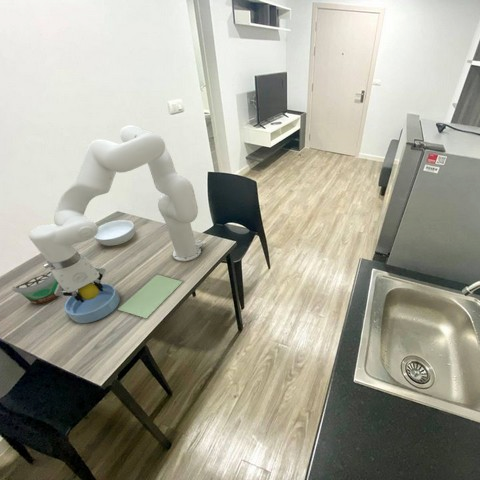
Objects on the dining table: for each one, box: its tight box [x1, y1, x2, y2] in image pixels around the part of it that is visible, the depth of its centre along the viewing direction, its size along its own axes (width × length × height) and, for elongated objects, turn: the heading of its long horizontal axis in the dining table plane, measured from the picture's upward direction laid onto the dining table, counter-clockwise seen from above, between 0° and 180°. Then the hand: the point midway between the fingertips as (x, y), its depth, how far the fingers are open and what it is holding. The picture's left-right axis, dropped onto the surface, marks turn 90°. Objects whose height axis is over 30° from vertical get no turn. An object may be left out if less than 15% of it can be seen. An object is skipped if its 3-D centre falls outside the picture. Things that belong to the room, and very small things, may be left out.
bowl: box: [63, 282, 121, 324], centre depth 99 cm, size 15×15×5 cm
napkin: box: [117, 274, 183, 319], centre depth 106 cm, size 20×13×1 cm, turn 165°
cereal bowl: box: [93, 219, 136, 247], centre depth 130 cm, size 17×17×7 cm
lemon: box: [77, 282, 99, 300], centre depth 96 cm, size 6×6×8 cm
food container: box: [12, 270, 64, 306], centre depth 99 cm, size 12×6×10 cm, turn 148°
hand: (91, 294), depth 97 cm, fingers closed on lemon, 5 cm apart
